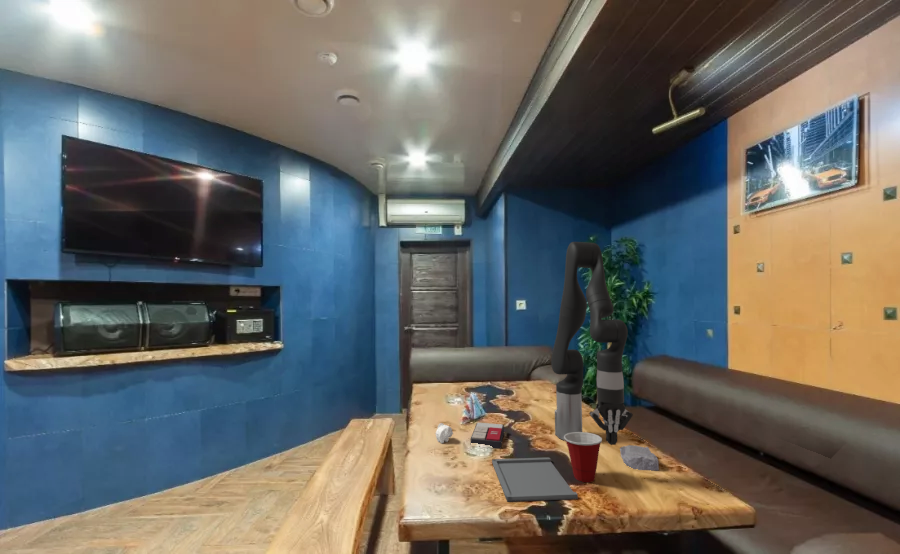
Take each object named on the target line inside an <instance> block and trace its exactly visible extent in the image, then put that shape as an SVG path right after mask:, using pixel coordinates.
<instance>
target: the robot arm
mask: <svg viewBox="0 0 900 554" xmlns="http://www.w3.org/2000/svg"><path fill="white" fill-rule="evenodd" d="M564 268H565V269H564V281H563V282H564V283H563V291H562V295H561V302H560V309H559V316H558V323H557V324H558V325H557V330H556V331H557V332H556V337H555V339H554V344H553V348H552V351H551V352H552V353H551V357H550V358H551V359H550V365H551V370H552V371H553V372H554V373H555V374H556V375H566V376H565V377H564V378H562V379H561V380H560V381H558V382H557V383H556V385H555V389H556V391H555V393H556V396H555V398H556V409H554V435H555V436H557V438H559V439H560V440H562V441H565V442H566V440H565V439H564V435H566V434H568V433H573V432H583V409H582V408H583V407H582V406H583V405H582V403H583V402H582V389H583V385H584V360H583V355H582V354H581V352H580V351H579V350H578V349H569V346H570V344H571V341H572V340H573V338H574V337H575V335H576V334H577V332H578V331H579V330H580V329H581V328H582V326H583V325H584V323H585V320H586V315H587V308H589V316H590V324H589V335H590V337H591V339H592V340H593V341H594V342H596V343H599V344H600V343H602V344H603V343H604V344H605V343H611V344H610V346H609V347H608V348H606V349H602V350H599V351H597V353H596V400H597V404H596V406H595V409H594V410H593V411H589V416H590V417H591V418H592V419H593V421H594V422H595V423H596V425H597V426H598V427H599V428H600V429H601V430H602V431H605V440H606V442H607V443H608V444H609V445H611V446H616V445H617V444H618V432H619V431H623V430H624V429H625V427H626V426H627V424H628V423H630V420H631V418H633V416H634V415H633V413H632V412H630V411H628V410H627V409H626V406H625V404H624V402H625V386H624V385H625V383H624V374H623V355H624V350H625V346H626V342H627V339H628V333H629V332H628V331H629V330H628V327H627V325H626V323H625V322H624V321H623V320H622V319H605V318H607V317H610V316H611V315H612V314H614V305H613V302H612V300H611V297H610V294H609V290H608V287H607V282H606V275H605V266H604V259H603V255H602V251H601V248H600V246H599V244H597V243H595V242H585V241H572V242H570V243H569V245H568V246H567V248H566V256H565V267H564ZM578 268H579V269H580V268H583V269H585V268H586V269H590V270H591V273H592V275H591V278H590V280H589V283H588V285H587V287H586V290H585V294H584V292H583V290H582V288H581V286H580V283H579V281H578ZM600 417H602V420H601V419H600Z"/></svg>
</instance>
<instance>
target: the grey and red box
mask: <svg viewBox="0 0 900 554" xmlns="http://www.w3.org/2000/svg"><path fill="white" fill-rule="evenodd" d="M504 436H505V425H504V424H502V423H501V424H500V423H499V424H498V423H488V422H477V423H475V427H474V430H473V432H472V434H471V436H470V444H471V443H478V444H485V445H490V446H492V447H493V448H492V449H496V450H497V449H498V450H501V449H502V444H503V439H504Z"/></svg>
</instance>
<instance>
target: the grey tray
mask: <svg viewBox="0 0 900 554" xmlns="http://www.w3.org/2000/svg"><path fill="white" fill-rule="evenodd" d="M551 461H552V459H551V458H550V457H527V458H525V457H523V458H521V457H520V458H519V457H518V458H492V459H491V463H492V466H493V468H494V471H495V474H496V476H497V479H498V481H499V484H500V486H501V489H502V492H503V494H504V498H505V499H506V502H510V503H511V502H533V501H534V502H536V501H559V500H561V501H563V500H579V499H578V498H579V497H578V493H577V491H573V489H572V488H571V487H570V485H569V484H568V482H567V481H566V480H565V478H564V477H563V476H562V474H561V473H560V472H559V471H558V469H557V468H556V467H555V465H554V464H553V462H551Z"/></svg>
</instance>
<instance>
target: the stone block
mask: <svg viewBox="0 0 900 554" xmlns="http://www.w3.org/2000/svg"><path fill="white" fill-rule="evenodd" d="M619 451H620V456H621V459H622V461H623V464H624V463H625V464H626V465H625V464H624V465H625V466H627V467H628V466H629V467H631V468H633V469H632V470H636V469H638V470H639V471H650V470H651V471H655V472H658V471H659V469H660V468H659V459H658V457H657V455H655V453H653V452H652V451H651V450H650V448H649V446H645V447H643V446H639V445H630V444H629V445H623V446H620V447H619ZM629 467H628V468H629ZM631 468H630V469H631ZM638 470H637V471H638Z"/></svg>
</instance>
